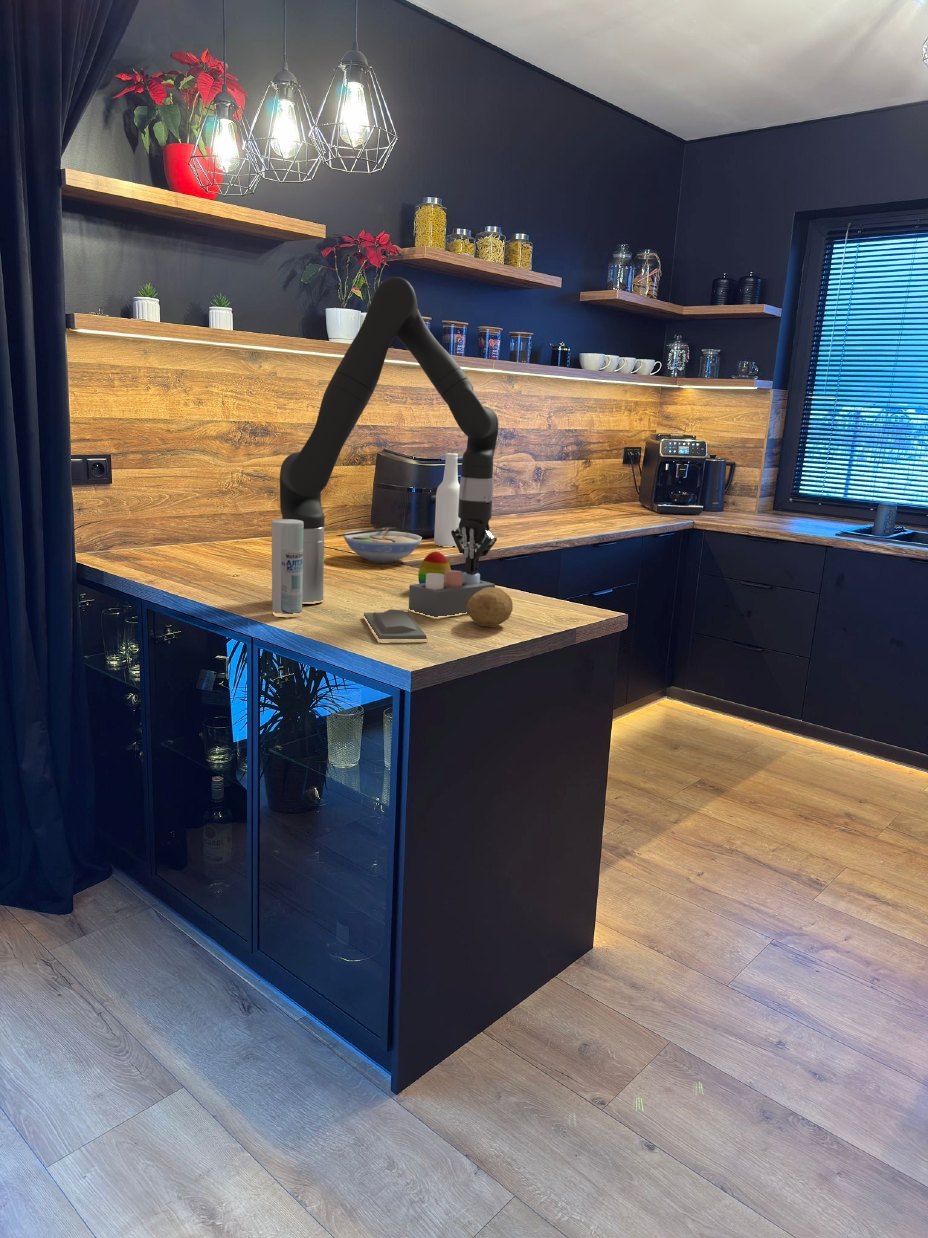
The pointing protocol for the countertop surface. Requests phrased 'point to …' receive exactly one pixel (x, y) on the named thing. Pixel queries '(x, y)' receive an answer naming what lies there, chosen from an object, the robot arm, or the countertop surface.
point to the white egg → (435, 581)
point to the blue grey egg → (471, 578)
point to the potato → (490, 606)
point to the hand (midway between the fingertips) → (471, 573)
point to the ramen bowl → (382, 544)
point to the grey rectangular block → (443, 598)
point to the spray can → (287, 565)
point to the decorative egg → (433, 565)
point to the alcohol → (447, 503)
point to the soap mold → (394, 625)
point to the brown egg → (453, 578)
